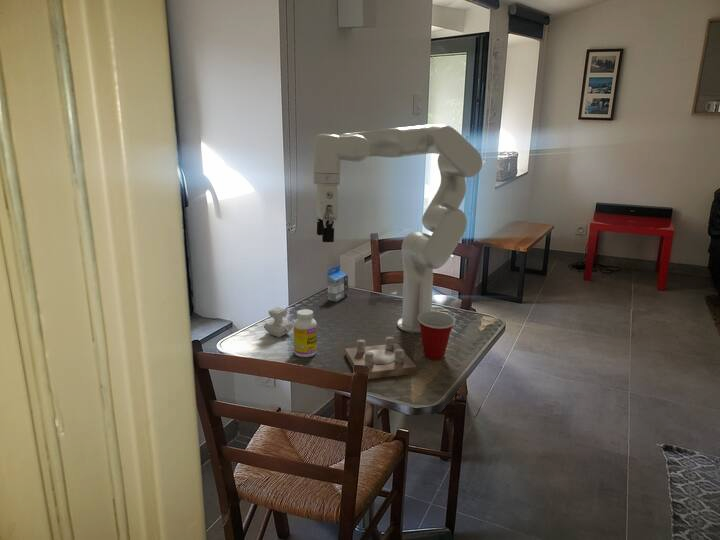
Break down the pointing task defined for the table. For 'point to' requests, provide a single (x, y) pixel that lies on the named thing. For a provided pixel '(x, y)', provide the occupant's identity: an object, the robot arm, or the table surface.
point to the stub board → (381, 359)
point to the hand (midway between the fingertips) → (325, 238)
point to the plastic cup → (435, 333)
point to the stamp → (278, 323)
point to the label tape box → (337, 284)
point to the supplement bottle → (305, 334)
